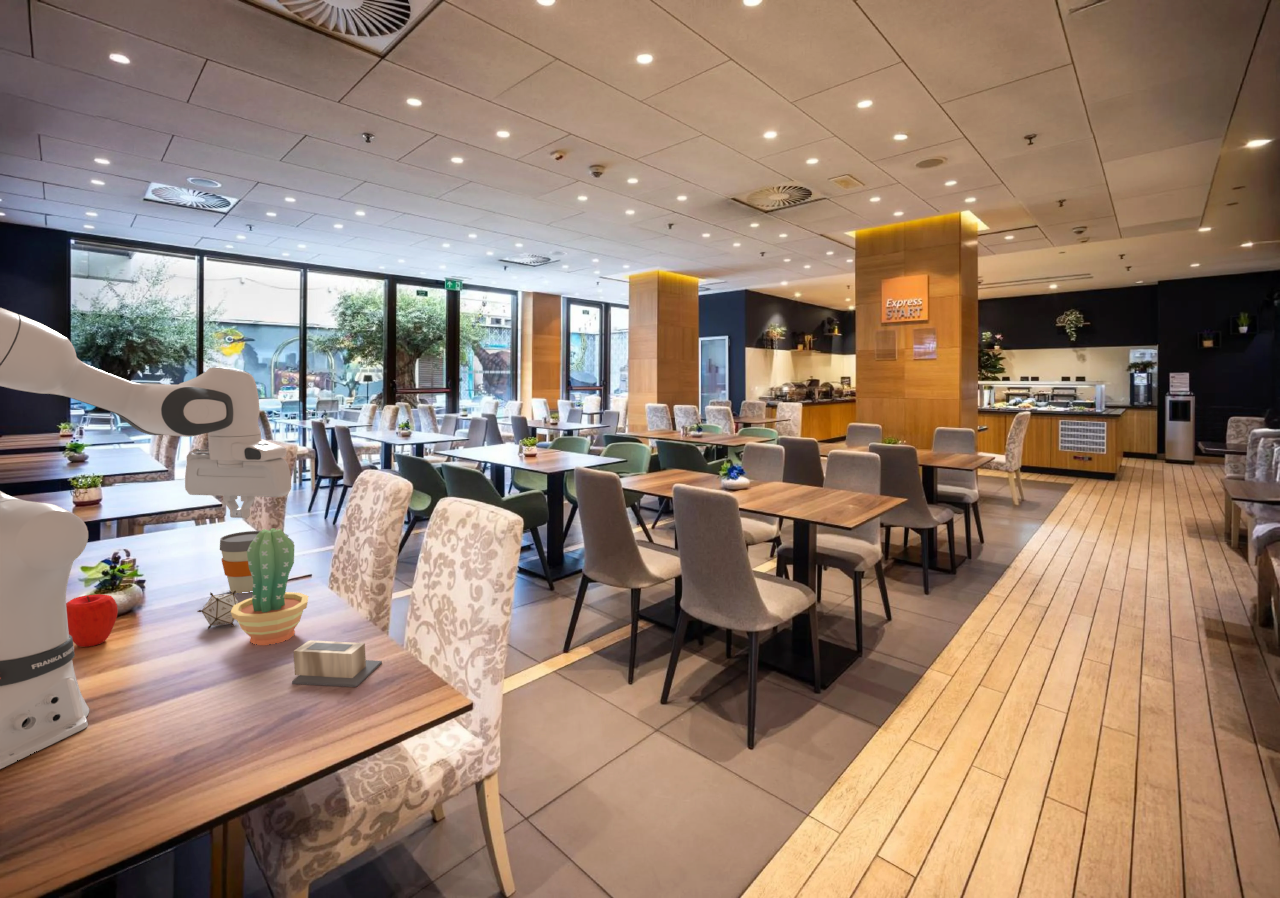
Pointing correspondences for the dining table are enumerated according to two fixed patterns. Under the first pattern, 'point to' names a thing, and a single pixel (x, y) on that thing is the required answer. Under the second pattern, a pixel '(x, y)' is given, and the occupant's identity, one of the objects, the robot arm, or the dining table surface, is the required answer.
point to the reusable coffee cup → (237, 560)
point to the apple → (91, 619)
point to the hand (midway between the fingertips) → (240, 517)
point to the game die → (219, 609)
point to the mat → (338, 681)
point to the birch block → (329, 659)
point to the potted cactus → (270, 591)
